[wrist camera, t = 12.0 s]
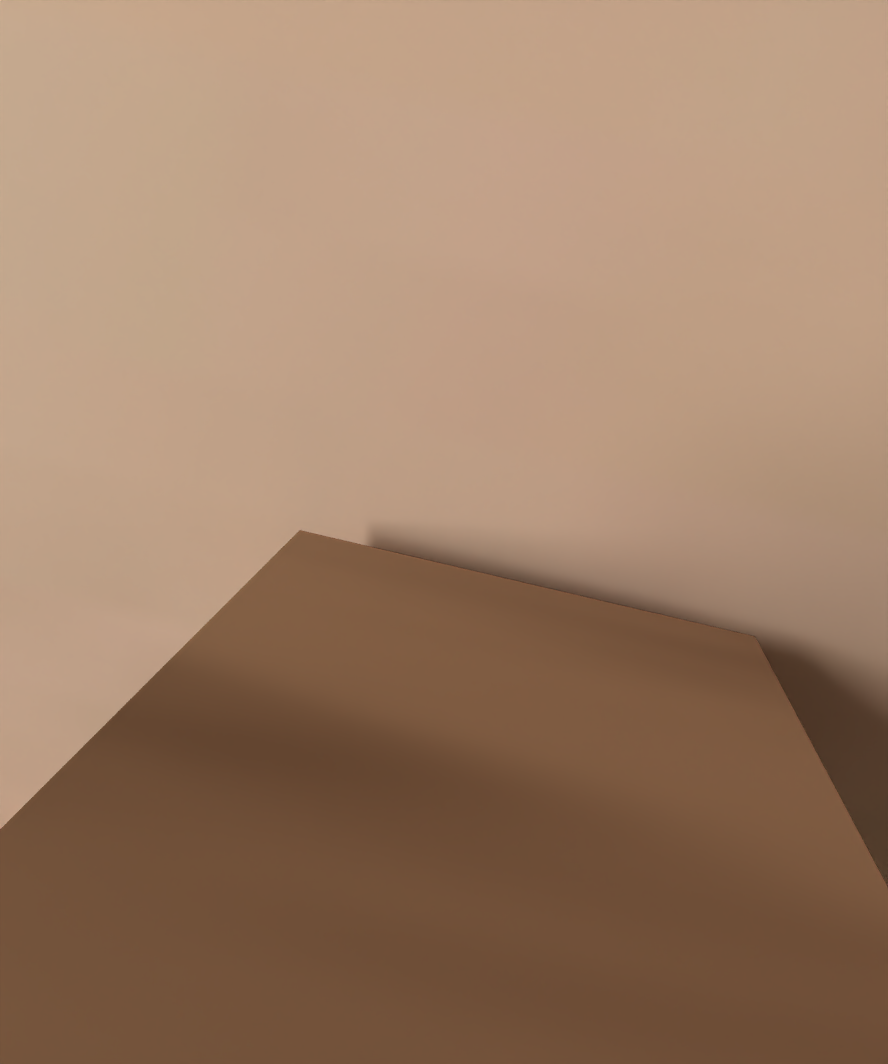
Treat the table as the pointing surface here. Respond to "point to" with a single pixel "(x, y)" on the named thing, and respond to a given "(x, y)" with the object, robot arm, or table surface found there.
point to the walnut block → (442, 843)
